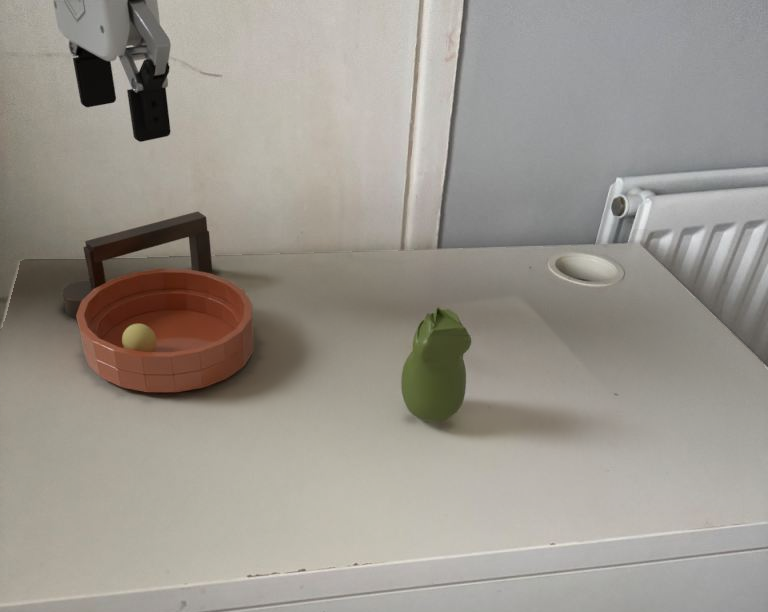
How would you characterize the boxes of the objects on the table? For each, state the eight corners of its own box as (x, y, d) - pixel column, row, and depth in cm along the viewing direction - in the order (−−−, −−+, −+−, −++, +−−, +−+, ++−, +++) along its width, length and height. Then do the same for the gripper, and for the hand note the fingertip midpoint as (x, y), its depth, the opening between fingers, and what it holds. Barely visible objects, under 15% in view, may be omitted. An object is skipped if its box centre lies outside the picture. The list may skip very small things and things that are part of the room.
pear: (447, 393, 76) (461, 294, 69) (471, 427, 73) (488, 327, 66) (390, 402, 74) (399, 302, 68) (412, 438, 71) (423, 336, 64)
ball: (118, 352, 77) (113, 323, 74) (148, 342, 78) (143, 313, 76) (134, 367, 75) (130, 338, 73) (164, 356, 76) (160, 328, 74)
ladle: (77, 323, 81) (64, 261, 76) (58, 305, 83) (45, 244, 78) (219, 278, 89) (214, 220, 84) (198, 263, 91) (193, 206, 86)
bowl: (56, 337, 78) (47, 297, 76) (198, 292, 86) (194, 254, 83) (137, 418, 70) (130, 377, 68) (286, 360, 78) (285, 320, 75)
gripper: (-8, -137, 64) (41, 99, 76) (96, -100, 55) (134, 161, 67) (83, -139, 68) (117, 86, 80) (195, -105, 59) (214, 143, 71)
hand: (125, 120), depth 73 cm, fingers open, 9 cm apart
